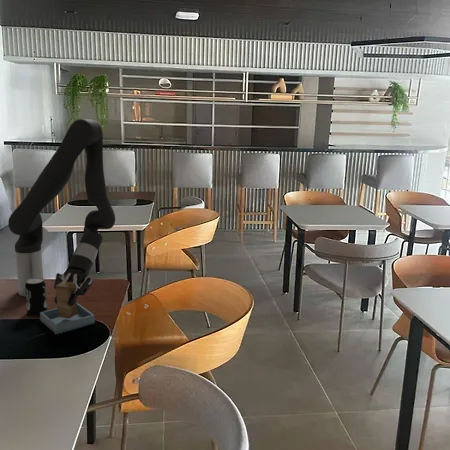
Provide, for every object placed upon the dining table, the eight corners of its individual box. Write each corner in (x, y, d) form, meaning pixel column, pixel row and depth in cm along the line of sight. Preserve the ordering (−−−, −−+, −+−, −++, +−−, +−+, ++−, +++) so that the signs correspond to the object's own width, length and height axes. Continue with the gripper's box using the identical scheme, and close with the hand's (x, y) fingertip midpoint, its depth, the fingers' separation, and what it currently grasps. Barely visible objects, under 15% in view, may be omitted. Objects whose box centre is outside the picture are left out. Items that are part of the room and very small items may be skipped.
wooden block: (66, 311, 158) (64, 281, 156) (77, 313, 157) (75, 282, 155) (57, 316, 154) (55, 285, 152) (69, 318, 153) (67, 287, 150)
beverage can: (42, 316, 160) (40, 283, 157) (23, 316, 160) (21, 283, 157) (50, 309, 166) (48, 277, 164) (32, 308, 166) (29, 276, 164)
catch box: (40, 320, 157) (39, 312, 156) (77, 310, 165) (77, 302, 165) (56, 334, 147) (55, 325, 146) (94, 323, 156) (94, 315, 155)
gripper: (60, 251, 160) (39, 296, 152) (96, 256, 156) (76, 302, 148) (71, 261, 166) (51, 305, 158) (105, 266, 162) (86, 312, 154)
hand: (63, 304), depth 153 cm, fingers closed on wooden block, 4 cm apart
